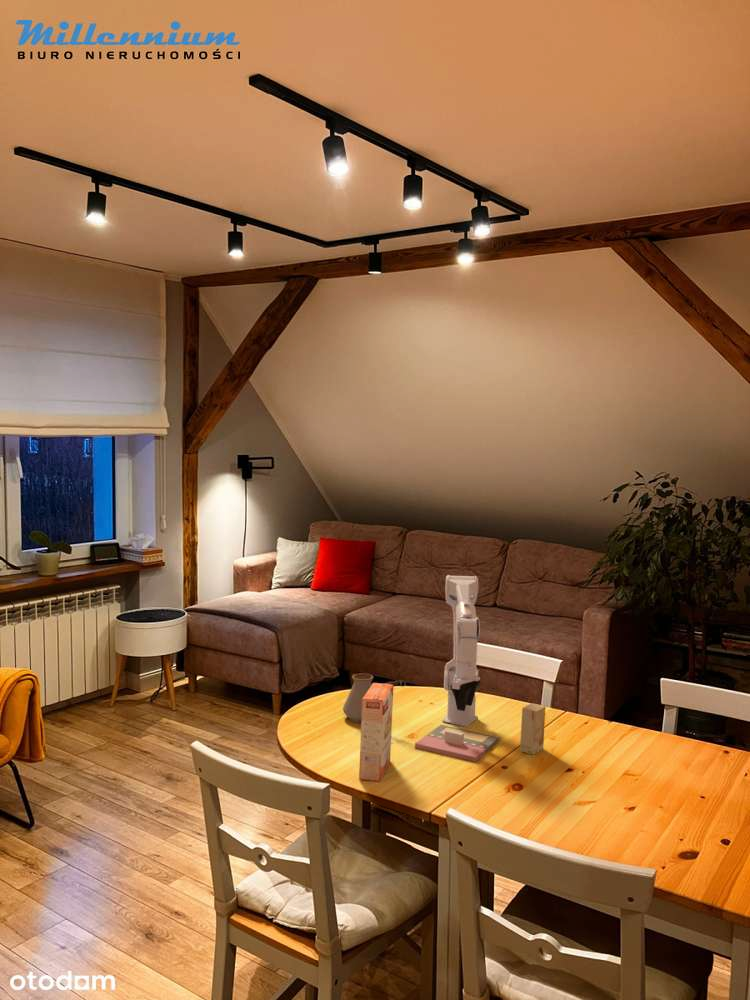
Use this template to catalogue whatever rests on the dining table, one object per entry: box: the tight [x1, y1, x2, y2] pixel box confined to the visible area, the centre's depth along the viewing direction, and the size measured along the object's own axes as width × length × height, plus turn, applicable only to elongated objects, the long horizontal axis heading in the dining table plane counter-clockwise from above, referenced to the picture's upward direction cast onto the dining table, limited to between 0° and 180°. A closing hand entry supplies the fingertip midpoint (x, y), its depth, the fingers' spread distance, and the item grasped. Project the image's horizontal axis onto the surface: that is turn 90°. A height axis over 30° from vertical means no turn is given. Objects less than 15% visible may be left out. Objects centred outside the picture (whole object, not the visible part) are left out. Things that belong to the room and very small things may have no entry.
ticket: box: [426, 724, 500, 754], centre depth 232 cm, size 10×18×1 cm, turn 61°
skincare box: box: [519, 702, 546, 755], centre depth 226 cm, size 6×4×12 cm
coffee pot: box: [342, 673, 407, 723], centre depth 244 cm, size 21×12×15 cm, turn 51°
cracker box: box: [358, 682, 395, 782], centre depth 209 cm, size 14×6×21 cm, turn 168°
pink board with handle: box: [414, 730, 487, 763], centre depth 224 cm, size 7×18×4 cm, turn 61°
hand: (464, 707), depth 231 cm, fingers open, 4 cm apart
